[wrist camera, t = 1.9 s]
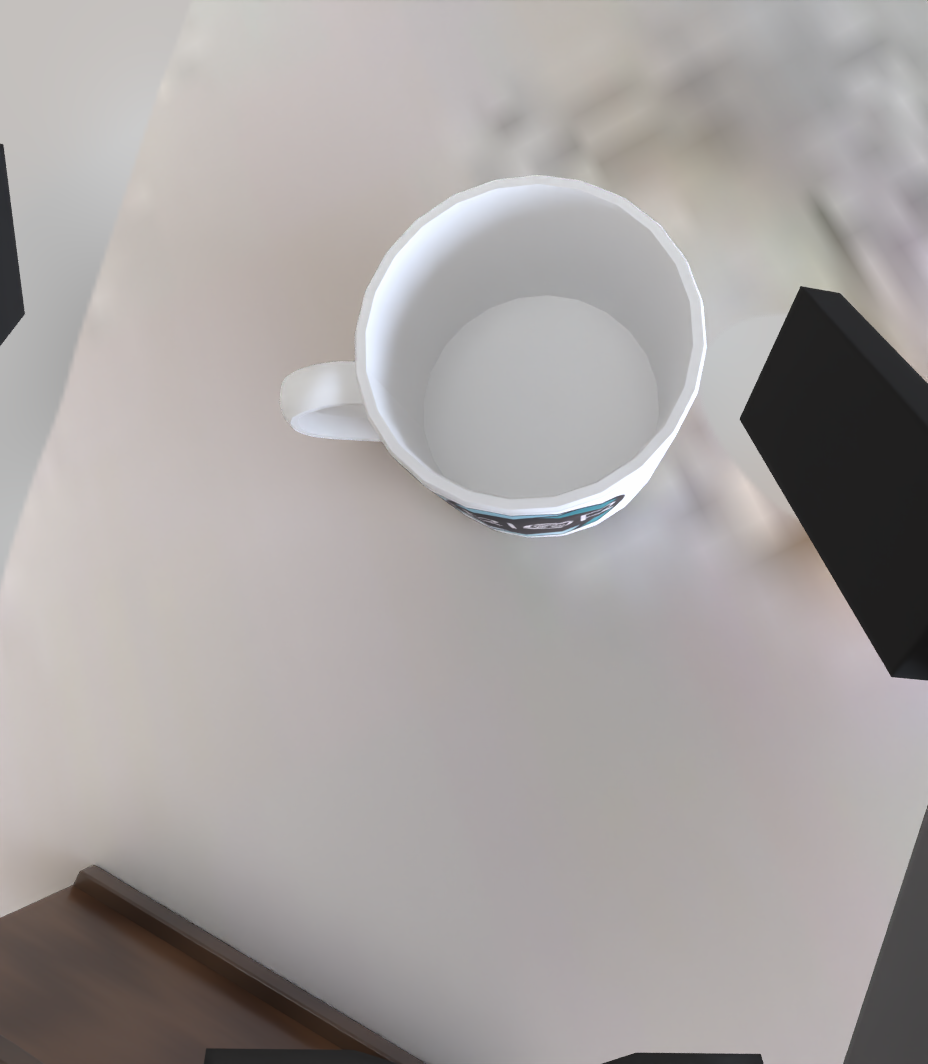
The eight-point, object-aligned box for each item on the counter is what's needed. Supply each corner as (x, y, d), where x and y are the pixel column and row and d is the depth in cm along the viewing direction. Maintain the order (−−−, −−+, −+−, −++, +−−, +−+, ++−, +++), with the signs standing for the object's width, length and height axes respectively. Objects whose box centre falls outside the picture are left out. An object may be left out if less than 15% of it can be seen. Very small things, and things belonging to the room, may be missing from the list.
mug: (648, 257, 33) (666, 135, 26) (705, 519, 32) (743, 475, 24) (319, 330, 35) (241, 236, 27) (357, 583, 33) (284, 562, 25)
